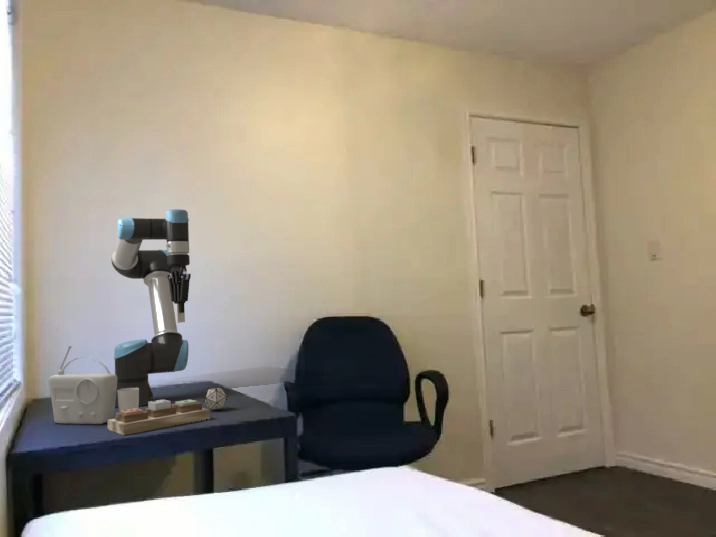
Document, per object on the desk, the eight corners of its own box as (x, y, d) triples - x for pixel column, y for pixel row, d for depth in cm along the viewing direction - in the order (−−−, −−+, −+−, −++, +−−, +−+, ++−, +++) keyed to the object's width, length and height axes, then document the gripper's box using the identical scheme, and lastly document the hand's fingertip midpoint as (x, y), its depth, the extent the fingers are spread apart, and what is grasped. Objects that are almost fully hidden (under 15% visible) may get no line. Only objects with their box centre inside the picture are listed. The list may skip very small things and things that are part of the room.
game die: (219, 422, 221) (220, 401, 216) (197, 413, 223) (197, 392, 217) (232, 404, 229) (233, 384, 223) (210, 396, 230) (211, 375, 225)
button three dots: (120, 418, 197) (119, 410, 197) (136, 416, 201) (135, 407, 201) (126, 420, 194) (126, 412, 194) (143, 418, 197) (142, 409, 197)
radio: (45, 424, 210) (43, 346, 210) (63, 419, 218) (61, 344, 218) (103, 426, 204) (101, 345, 205) (120, 420, 212) (118, 343, 213)
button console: (107, 429, 198) (107, 412, 198) (191, 414, 217) (191, 399, 217) (123, 435, 189) (123, 417, 189) (210, 419, 208) (209, 403, 208)
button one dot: (175, 409, 209) (175, 401, 209) (189, 407, 213) (189, 399, 213) (182, 411, 206) (182, 403, 206) (197, 408, 209) (197, 400, 209)
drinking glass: (115, 420, 211) (114, 389, 212) (136, 417, 215) (135, 387, 216) (121, 423, 206) (120, 391, 206) (142, 420, 210) (141, 389, 210)
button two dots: (148, 409, 203) (148, 401, 203) (163, 407, 207) (163, 399, 207) (155, 411, 200) (155, 403, 200) (170, 409, 203) (170, 400, 203)
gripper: (159, 255, 229) (161, 322, 229) (176, 253, 220) (179, 323, 219) (179, 255, 234) (181, 321, 234) (197, 253, 225) (199, 322, 224)
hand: (180, 322), depth 226 cm, fingers closed
